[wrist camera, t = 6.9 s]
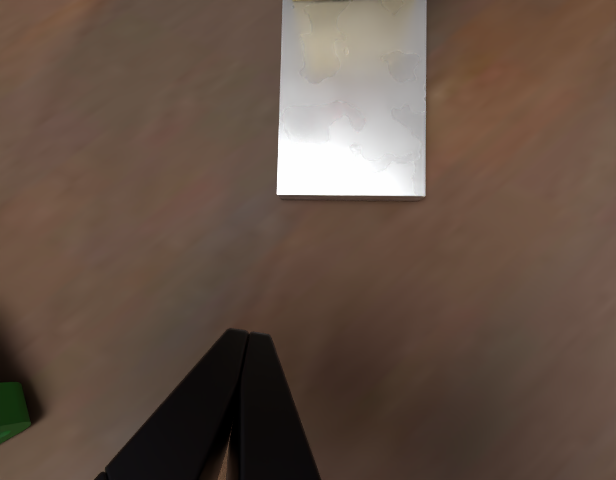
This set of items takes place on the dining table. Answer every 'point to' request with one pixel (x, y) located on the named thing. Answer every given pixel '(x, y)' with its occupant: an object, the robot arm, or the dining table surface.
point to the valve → (308, 0)
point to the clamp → (12, 410)
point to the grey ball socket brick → (352, 100)
